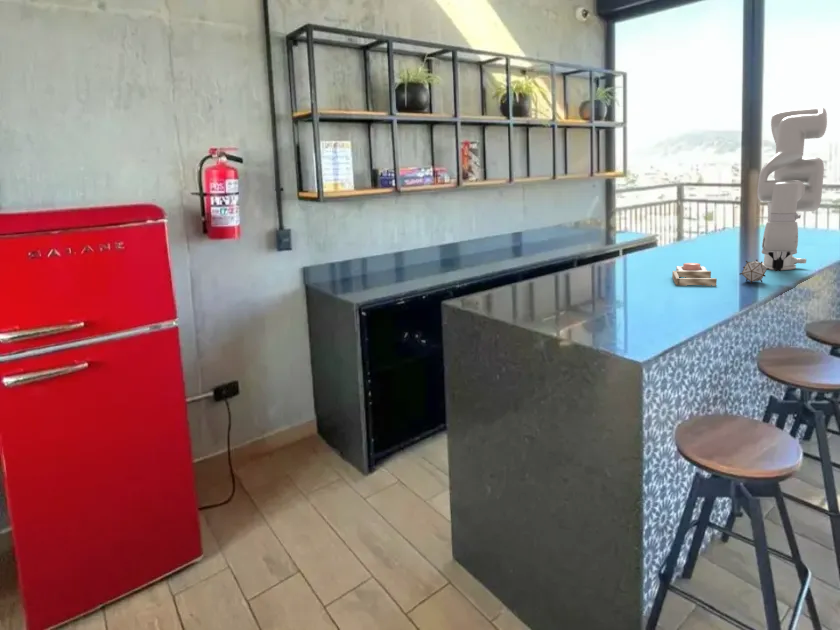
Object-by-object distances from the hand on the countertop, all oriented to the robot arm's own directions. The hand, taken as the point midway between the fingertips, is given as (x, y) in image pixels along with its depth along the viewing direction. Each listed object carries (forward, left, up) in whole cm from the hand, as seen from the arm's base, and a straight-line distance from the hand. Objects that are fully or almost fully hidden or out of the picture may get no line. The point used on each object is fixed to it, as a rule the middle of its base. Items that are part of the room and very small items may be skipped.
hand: (777, 270), depth 205 cm
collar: (+26, -13, -4) cm, 30 cm away
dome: (+26, -13, -3) cm, 29 cm away
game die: (+7, 0, -5) cm, 9 cm away
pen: (+26, 0, -4) cm, 27 cm away
